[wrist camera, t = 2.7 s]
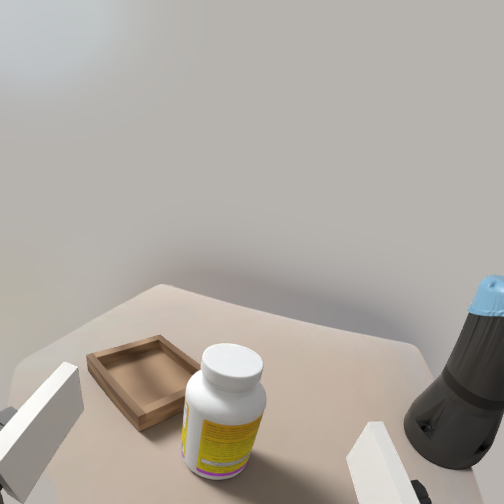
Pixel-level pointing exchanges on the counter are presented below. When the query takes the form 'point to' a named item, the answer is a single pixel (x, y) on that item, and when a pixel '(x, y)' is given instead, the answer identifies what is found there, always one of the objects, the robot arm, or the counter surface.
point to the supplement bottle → (222, 411)
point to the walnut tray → (144, 379)
